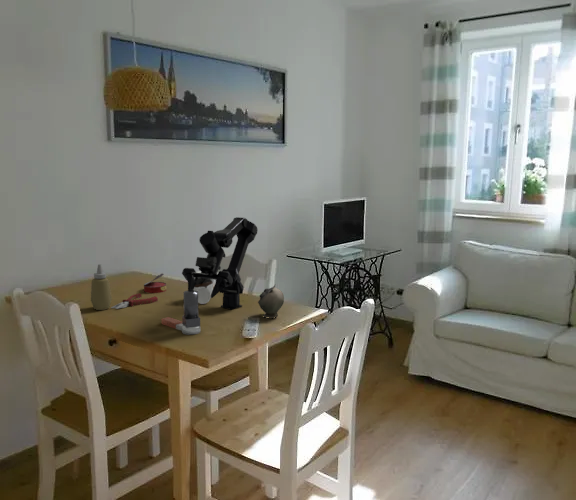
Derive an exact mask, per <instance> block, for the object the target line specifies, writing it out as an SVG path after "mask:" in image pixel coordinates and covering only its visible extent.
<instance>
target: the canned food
mask: <svg viewBox="0 0 576 500" xmlns="http://www.w3.org/2000/svg"><path fill="white" fill-rule="evenodd" d="M162 276H164V273H163V272H162V273H160V274H158V275H157V276H155V277H154V278H153V280H151V281H148V282H146V283H144V284H143V291H145V292H144V293H146V292H147V294H159V293H165V292H167V283H166V282H164V281H163V282H162V281H156V280H157V279H160V278H161V277H162Z"/></svg>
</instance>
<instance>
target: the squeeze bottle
mask: <svg viewBox="0 0 576 500" xmlns="http://www.w3.org/2000/svg"><path fill="white" fill-rule="evenodd" d="M110 286H111V284H110V280H109V278H108V277H107V272H104V270H103V266H102V264H100V263H99V264H98V265H97V270H96V272H95V273H94V274H93V279H92V280H91V286H90V287H91V289H90V290H91V291H90V302H91V305H92V307H93V309H94V310H95V309H96V311H104V310H108V309H109V308H111V307H110V306H111V303H112V300H113V298H112V291H111V287H110Z"/></svg>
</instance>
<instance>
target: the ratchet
mask: <svg viewBox="0 0 576 500" xmlns="http://www.w3.org/2000/svg"><path fill="white" fill-rule="evenodd" d="M161 324H162V325H164V326H166V327H168V328H169V327H170V328H172V329H176V330H178V331H181V334H183V335H188V336H193V335H198V334H201V325H200V326H197V327H189V328H186V327H185V326H184V325H183V324H182V320H179V319H176V318H172V317H170V316H169V317H167V316H166V317H164V318H161Z"/></svg>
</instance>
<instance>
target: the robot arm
mask: <svg viewBox="0 0 576 500" xmlns="http://www.w3.org/2000/svg"><path fill="white" fill-rule="evenodd" d="M257 235H258V226H257V225H256V224H255V223H254V222H252V221H250V220H248V219H247V218H246V217H241V216H240V217H239V216H238V217H234V218H233V220H232V221H231V222H230V223H229V224H228V225H226V226H225V227H223V229H220V230H216V231H213V230H207V232H205V233H203V234H202V235H201V236H200V237H199V244H200V245H201V246H202V248H203V250H204V251H205V253H207V256H206V257H199V256H197V257H196V261H195V265H194V266H195V267H198V270H199V271H196V270H195V268H192V267H185V268H183V269H182V272H181V275H182V276H183V277H184V279H185V281H187V291H188V290H193V289H194V287H195V285H196V281H197V279H198V278H205V279H211V280H215V284H214V285H213V291H212V293H211V298H210V299H213V298H215V296H216V295H218V294H219V293H222V295H223V296H222V304H221V305H220V308H225V309H227V310H231V311H233V310H236V309H239V308H242V307H243V305H242V304H241V303H240V302H241V301H240V295H241V294H243V293H244V288H245V287H244V285H243V284H242V282H241V281H242V278H241V275H240V272H241V271H240V270H241V268H242V264H243V262H244V258H245V256H246V253H247V249H248V246H249V244H250V243H252V242H253V241H255V239H256V236H257ZM235 236H236V238H237V241H236V244H235V247H234V249H233V251H232V256H231V259H230V261H229V265H228V267H227V268H223V269H222V270H221V268H222V267H221V263H222V260H223V258H226V253H225V250H224V248H225V249H228V248H230V247H231V245H232V244H233V238H234V237H235ZM219 270H220V271H219ZM199 272H201V273H199Z"/></svg>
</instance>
